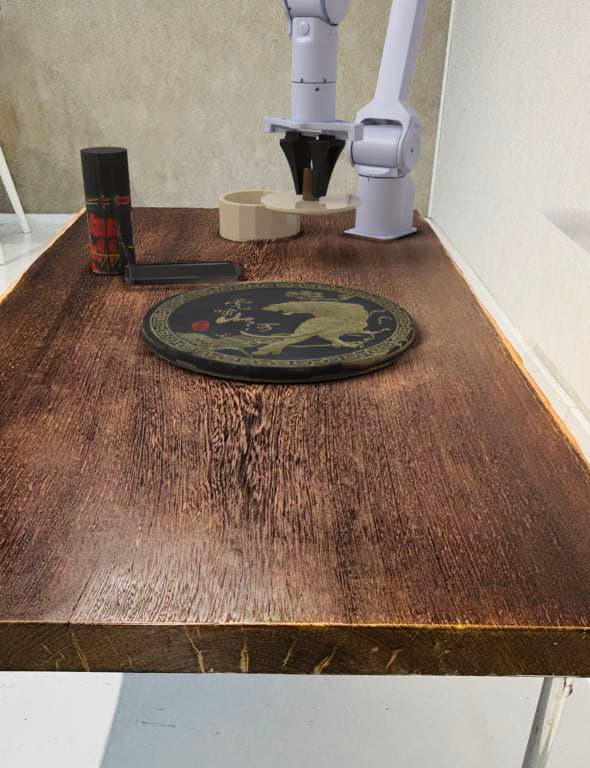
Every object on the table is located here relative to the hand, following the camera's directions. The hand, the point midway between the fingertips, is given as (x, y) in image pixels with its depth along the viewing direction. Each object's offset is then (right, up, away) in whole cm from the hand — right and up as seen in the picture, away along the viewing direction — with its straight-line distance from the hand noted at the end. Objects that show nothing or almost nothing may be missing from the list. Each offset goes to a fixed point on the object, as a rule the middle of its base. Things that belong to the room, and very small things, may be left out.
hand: (310, 195), depth 116 cm
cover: (0, -1, 0) cm, 1 cm away
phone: (-17, -12, -3) cm, 21 cm away
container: (-7, +2, +19) cm, 21 cm away
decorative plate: (-5, -24, -21) cm, 32 cm away
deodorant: (-27, -10, +2) cm, 29 cm away
